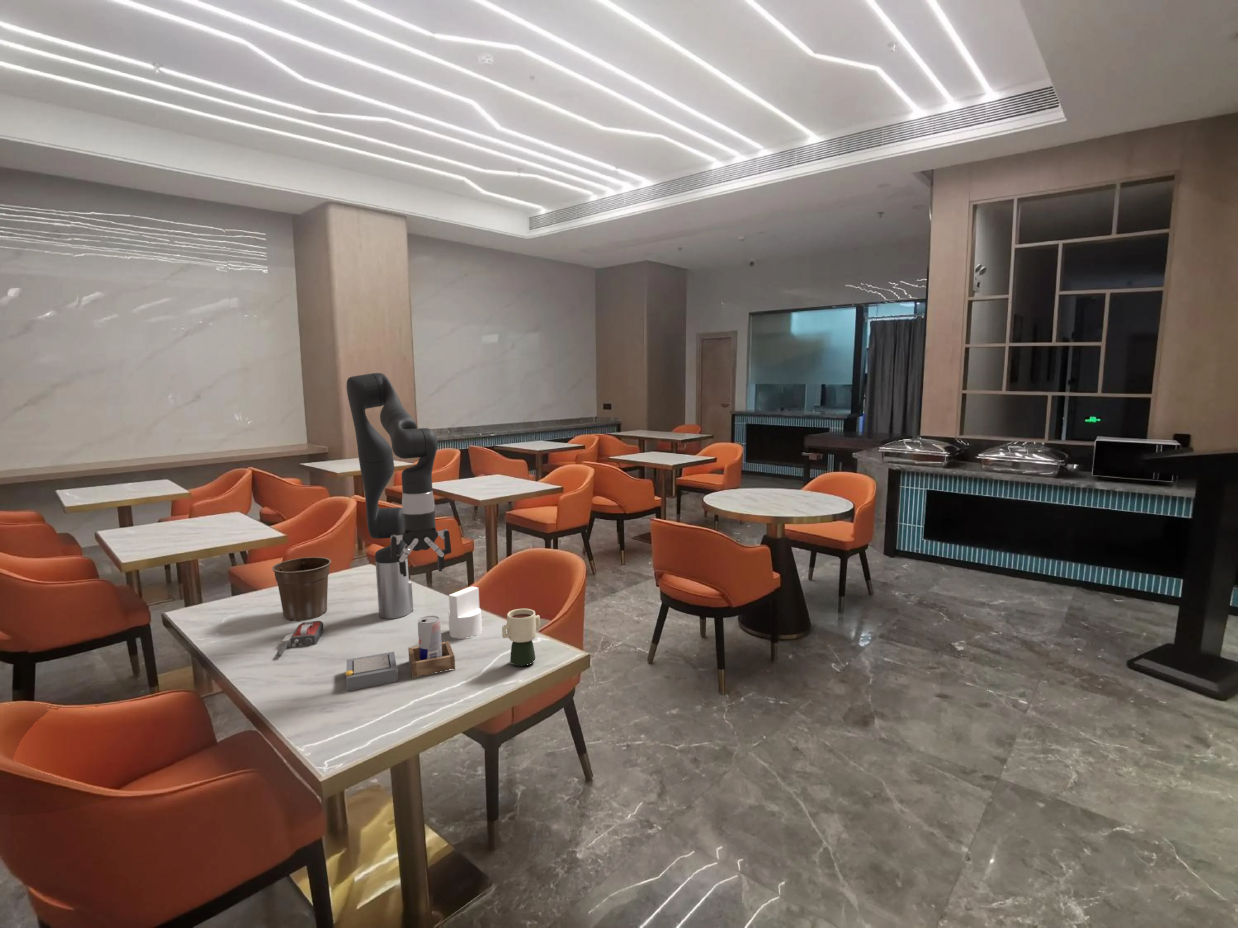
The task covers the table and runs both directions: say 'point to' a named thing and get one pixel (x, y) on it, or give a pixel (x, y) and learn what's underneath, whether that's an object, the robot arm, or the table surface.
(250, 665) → the table surface
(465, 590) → the base with upright slab
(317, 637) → the walkie-talkie
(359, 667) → the pad
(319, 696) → the table surface
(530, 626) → the character mug
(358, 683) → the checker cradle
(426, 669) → the walnut holder
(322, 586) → the plant pot
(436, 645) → the energy drink
